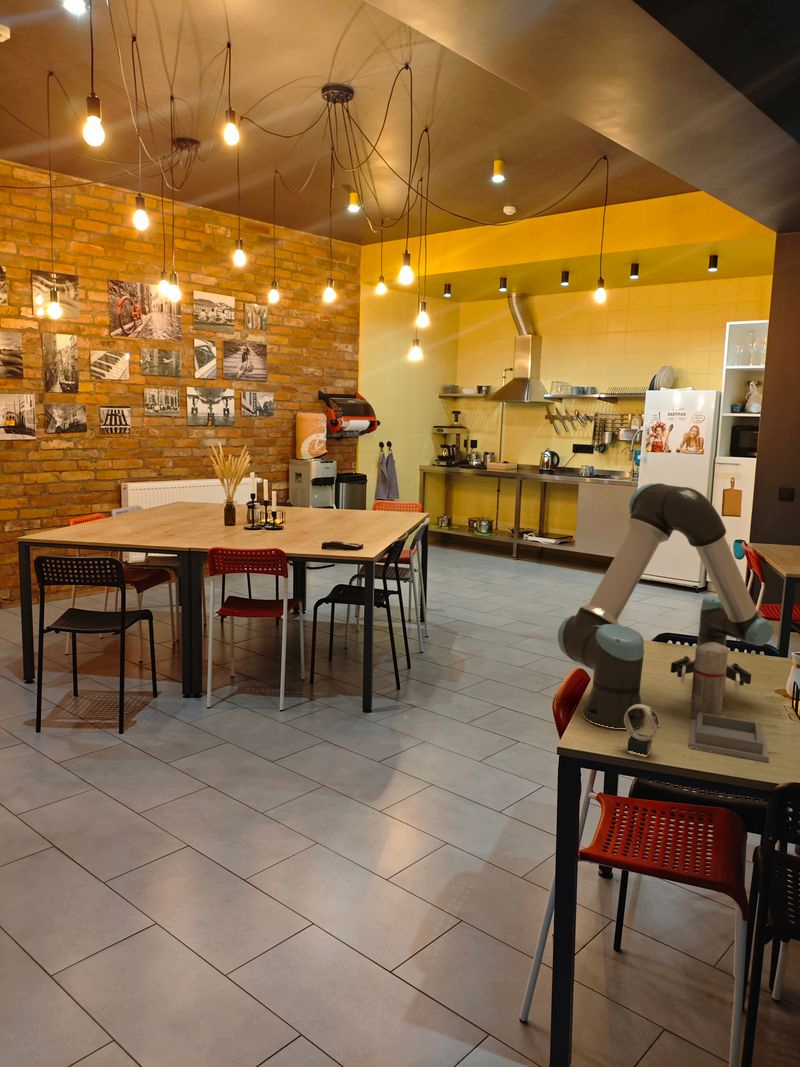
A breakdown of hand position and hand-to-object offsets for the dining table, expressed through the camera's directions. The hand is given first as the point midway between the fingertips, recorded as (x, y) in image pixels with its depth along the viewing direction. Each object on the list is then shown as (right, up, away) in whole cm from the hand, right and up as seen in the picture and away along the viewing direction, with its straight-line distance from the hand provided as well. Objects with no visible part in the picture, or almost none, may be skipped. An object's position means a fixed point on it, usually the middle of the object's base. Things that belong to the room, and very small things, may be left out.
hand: (710, 681), depth 199 cm
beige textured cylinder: (+1, -11, +5) cm, 12 cm away
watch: (-23, -13, -18) cm, 32 cm away
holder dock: (0, -13, -10) cm, 16 cm away
